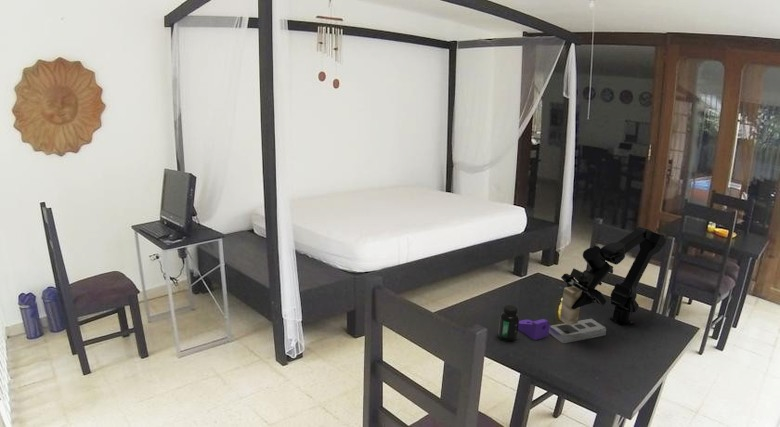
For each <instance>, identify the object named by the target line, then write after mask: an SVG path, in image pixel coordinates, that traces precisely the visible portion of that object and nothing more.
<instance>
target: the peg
mask: <svg viewBox="0 0 780 427" xmlns="http://www.w3.org/2000/svg"><path fill="white" fill-rule="evenodd" d="M581 293H582V290H580V289H578V288H576V287H574V286H572V287H567V286H566V287H563V293H562V298H561V299H562V300H561V307H560V308H561V309H560V315H559V321H561V322H563V323H565V324H567V325H571V324H577V323H578V321H579V317H580V310H581V307H579V308H576V309H574V310H573V309H572V306H573V305H574V303H575V302H576V301H577V300H578V299H579V298H580V296H581Z"/></svg>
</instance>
